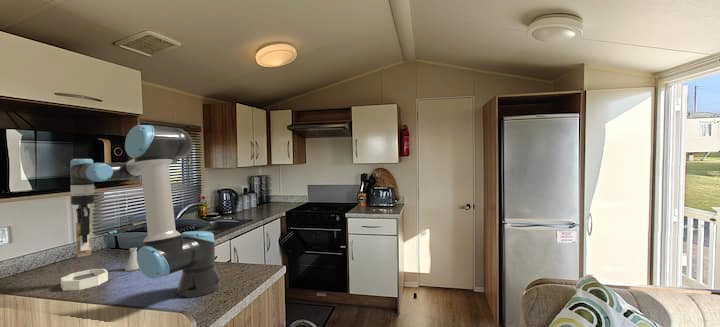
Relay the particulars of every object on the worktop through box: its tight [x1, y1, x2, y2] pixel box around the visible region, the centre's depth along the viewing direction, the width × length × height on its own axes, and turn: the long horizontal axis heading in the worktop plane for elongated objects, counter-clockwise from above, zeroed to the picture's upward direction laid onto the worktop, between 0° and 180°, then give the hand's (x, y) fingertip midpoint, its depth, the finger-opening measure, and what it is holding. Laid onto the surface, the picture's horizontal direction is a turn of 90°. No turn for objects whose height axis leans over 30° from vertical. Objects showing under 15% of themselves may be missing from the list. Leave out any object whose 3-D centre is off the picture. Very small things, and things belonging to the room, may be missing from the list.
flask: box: [124, 247, 140, 272], centre depth 155 cm, size 7×7×10 cm
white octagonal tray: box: [60, 268, 109, 292], centre depth 137 cm, size 15×15×4 cm
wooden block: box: [75, 221, 92, 258], centre depth 137 cm, size 2×4×14 cm, turn 139°
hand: (83, 249), depth 137 cm, fingers closed on wooden block, 2 cm apart
